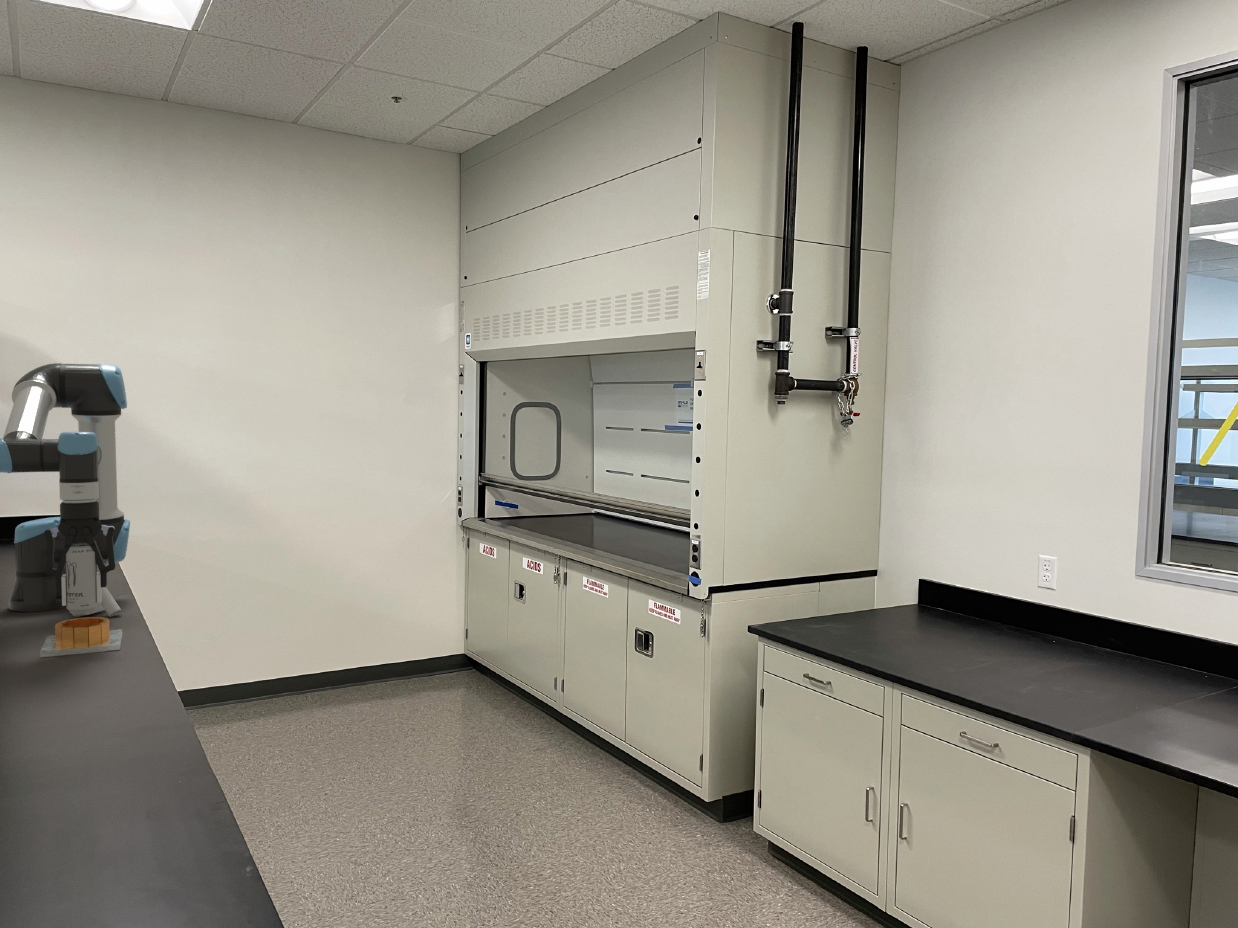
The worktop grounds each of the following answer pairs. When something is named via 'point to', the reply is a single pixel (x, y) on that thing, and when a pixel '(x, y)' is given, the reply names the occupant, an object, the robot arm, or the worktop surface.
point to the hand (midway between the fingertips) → (82, 602)
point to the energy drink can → (81, 579)
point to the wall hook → (104, 605)
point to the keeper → (82, 637)
